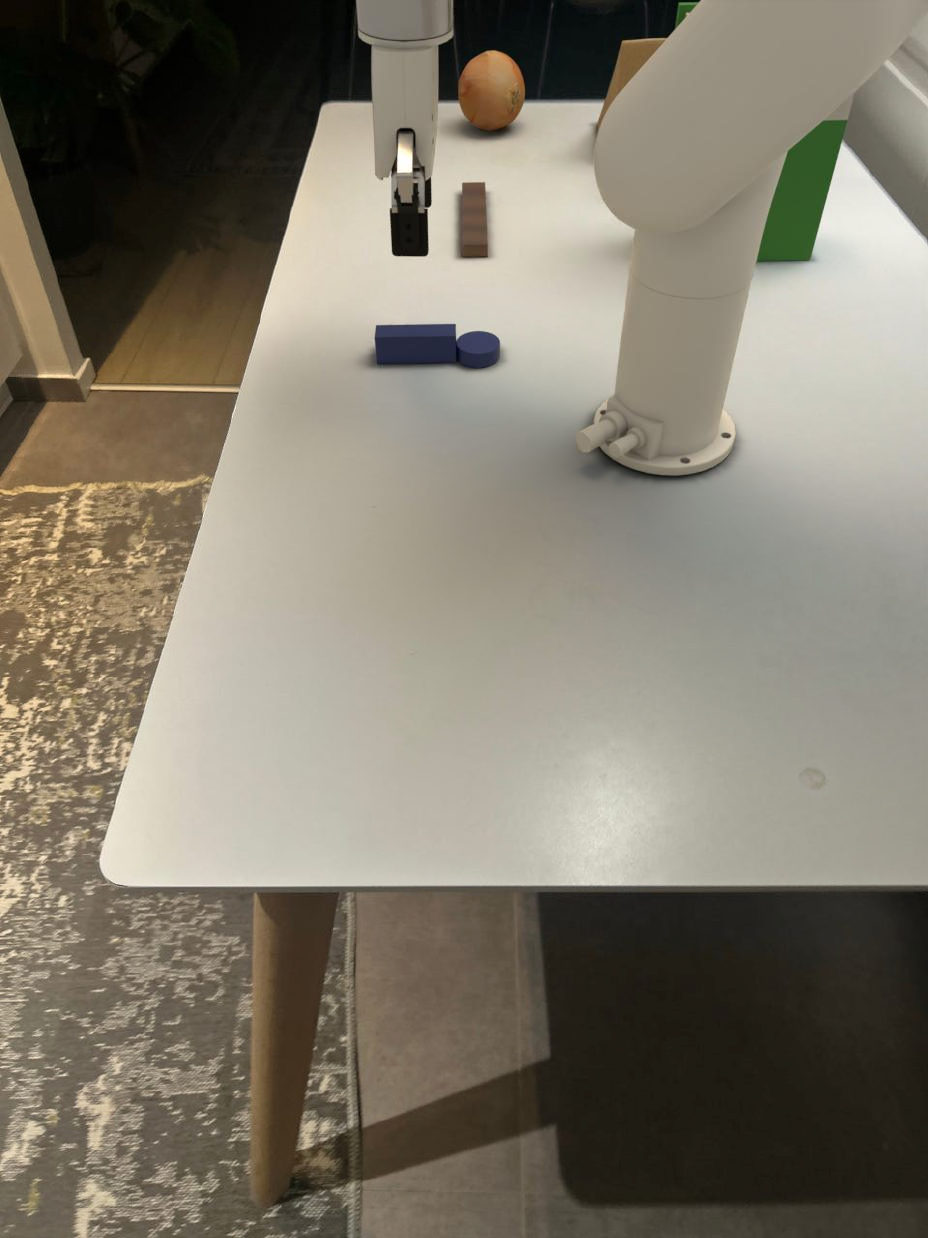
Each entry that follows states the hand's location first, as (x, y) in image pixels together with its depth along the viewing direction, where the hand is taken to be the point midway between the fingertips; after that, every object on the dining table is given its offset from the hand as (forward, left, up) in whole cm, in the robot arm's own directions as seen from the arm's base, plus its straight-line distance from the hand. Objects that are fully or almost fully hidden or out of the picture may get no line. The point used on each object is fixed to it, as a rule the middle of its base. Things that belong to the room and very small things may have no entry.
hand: (412, 229), depth 84 cm
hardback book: (+42, -5, -13) cm, 44 cm away
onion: (+47, +43, -13) cm, 65 cm away
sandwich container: (+58, +25, -13) cm, 64 cm away
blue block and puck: (+1, -1, -13) cm, 13 cm away
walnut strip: (+24, +20, -13) cm, 34 cm away
